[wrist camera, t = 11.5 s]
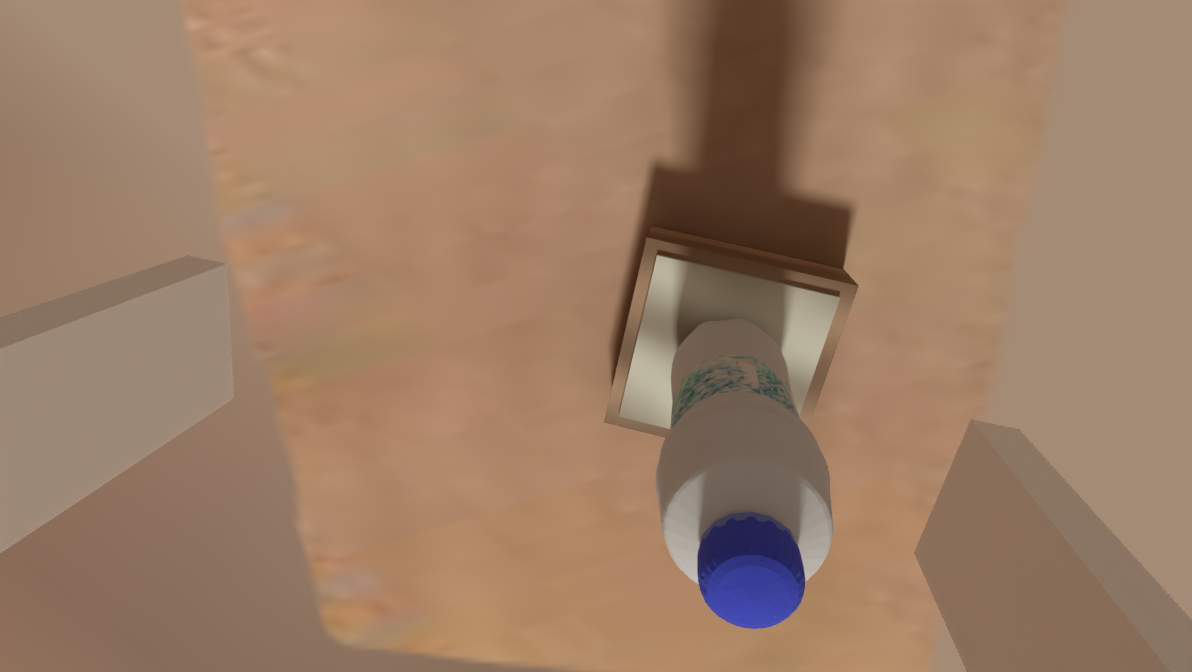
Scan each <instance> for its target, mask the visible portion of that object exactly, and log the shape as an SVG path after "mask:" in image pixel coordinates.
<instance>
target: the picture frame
mask: <svg viewBox="0 0 1192 672" xmlns="http://www.w3.org/2000/svg"><path fill="white" fill-rule="evenodd" d="M857 289H858V285H857V284H856V283H855V281H854V280H853V279H852V278H851V277H850V276H849V275H848V274H847V272H846V271H845V270H844V269H841V268H837V267H832V266H828V265H824V264H819V263H815V262H811V261H806V260H802V259H797V258H793V257H789V256H784V255H780V254H775V253H771V252H767V251H762V250H758V249H753V248H749V247H745V246H740V245H736V244H732V243H727V242H723V241H718V240H714V239H710V238H705V237H701V236H696V235H692V234H688V233H683V232H679V231H675V230H670V229H666V228H661V227H657V226H653V225H651V227H650V230H649V232H648V235H647V238H646V242H645V247H644V251H643V255H642V260H641V264H640V268H639V273H638V277H637V281H636V286H635V290H634V294H633V299H632V303H631V307H630V312H629V316H628V320H627V325H626V329H625V333H624V338H623V342H622V346H621V351H620V355H619V359H618V364H617V368H616V372H615V377H614V381H613V385H612V390H611V394H610V398H609V403H608V407H607V411H606V416H605V420H604V422H605V423H609V424H613V425H617V426H621V427H625V428H629V429H633V430H637V431H641V432H645V433H649V434H653V435H657V436H661V437H665V438H666V437H667V435H668V434H669V432H670V426H671V413H672V403H673V402H672V392H671V369H672V363H673V359H674V355H675V353H676V351H677V349H678V347H679V346H680V345H681V344H682V342H683V341H684V340H685V339H686V338H687V337H688V336H689V335H690V334H691V333H692V332H693V331H694V330H695V329H696V328H697V327H698V325H700V324H702V323H704V322H707V321H722V320H732V319H737V318H740V319H745V320H748V321H750V322H752V323H753V324H755V325H756V326H757V327H759V328H760V329H761V330H763V331H764V332H766V333H767V334H768V335H769V336H770V337H771V338H772V339H773V340H774V341H776V343H777V345H778V346H779V348H780V349H781V351H782V354H783V356H784V359H785V362H786V365H787V369H788V374H789V380H790V387H791V392H792V395H793V398H794V401H795V404H796V407H797V411H798V414H799V417H800V420H801V421H802V422H803V423H804V424H805V425H806V426H807V427H808V426H809V423H810V421H811V418H812V415H813V412H814V409H815V407H816V404H817V401H818V398H819V395H820V393H821V390H822V387H823V384H824V381H825V379H826V376H827V373H828V370H829V367H830V365H831V362H832V359H833V356H834V353H835V350H836V348H837V345H838V342H839V339H840V336H841V334H842V331H843V328H844V325H845V322H846V320H847V317H848V314H849V311H850V308H851V306H852V303H853V300H854V297H855V294H856V291H857Z"/></svg>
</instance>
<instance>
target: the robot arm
mask: <svg viewBox="0 0 1192 672" xmlns="http://www.w3.org/2000/svg"><path fill="white" fill-rule="evenodd" d="M230 333H231V332H230V312H229V293H228V274H227V264H225V263H221V262H216V261H210V260H206V259H202V258H197V257H192V256H186V257H182V258H179V259H176V260H173V261H170V262H167V263H165V264H161V265H158V266H155V267H152V268H149V269H146V270H143V271H140V272H137V273H134V274H131V275H128V276H125V277H122V278H119V279H116V280H113V281H110V282H107V283H103V284H100V285H97V286H94V287H91V288H88V289H85V290H82V291H79V292H76V293H73V294H70V295H67V296H64V297H61V298H58V299H55V300H52V301H49V302H46V303H43V304H40V305H37V306H34V307H31V308H28V309H25V310H22V311H19V312H16V313H13V314H10V315H6V316H3V317H0V553H1V552H3V551H4V550H6V549H7V548H9V547H10V546H12V545H13V544H15V543H16V542H18V541H19V540H21V539H22V538H24V537H25V536H27V535H28V534H30V533H31V532H33V531H34V530H36V529H37V528H39V527H40V526H42V525H43V524H45V523H46V522H48V521H50V520H51V519H53V518H54V517H55V516H57V515H59V514H60V513H61V512H63V511H65V510H66V509H68V508H69V507H70V506H72V505H73V504H75V503H77V502H78V501H80V500H81V499H82V498H84V497H85V496H87V495H88V494H90V493H92V492H93V491H94V490H96V489H98V488H99V487H101V486H102V485H104V484H105V483H107V482H108V481H110V480H111V479H113V478H114V477H116V476H117V475H119V474H120V473H122V472H123V471H125V470H126V469H128V468H129V467H131V466H132V465H134V464H135V463H137V462H138V461H140V460H141V459H143V458H144V457H145V456H147V455H149V454H150V453H152V452H153V451H155V450H156V449H158V448H159V447H161V446H162V445H164V444H166V443H167V442H168V441H170V440H171V439H173V438H174V437H176V436H177V435H179V434H180V433H182V432H183V431H185V430H186V429H188V428H190V427H191V426H192V425H194V424H196V423H197V422H199V421H200V420H201V419H203V418H205V417H206V416H208V415H209V414H210V413H212V412H214V411H215V410H217V409H218V408H219V407H221V406H223V405H224V404H226V403H227V402H229V401H230V400H232V399H233V398H234V391H233V371H232V351H231V334H230ZM914 553H915V556H916V558H917V560H918V562H919V565H920V567H921V569H922V571H923V574H924V576H925V578H926V580H927V583H928V585H929V587H930V589H931V592H932V594H933V596H934V598H935V601H936V603H937V605H938V607H939V610H940V612H941V614H942V617H943V619H944V621H945V623H946V626H947V628H948V630H949V632H950V634H951V637H952V639H953V641H954V644H955V646H956V648H957V650H958V653H959V655H960V657H961V659H962V661H963V664H964V666H965V668H966V671H967V672H1192V620H1191V619H1190V617H1189V616H1188V615H1187V614H1186V613H1185V612H1184V611H1183V610H1182V609H1181V607H1179V605H1178V604H1177V603H1176V602H1175V601H1174V600H1173V599H1172V598H1171V597H1170V595H1169V594H1168V593H1167V592H1166V591H1165V590H1164V589H1163V588H1162V587H1161V585H1160V584H1159V583H1158V582H1157V581H1156V580H1155V579H1154V578H1153V577H1152V576H1151V574H1150V573H1149V572H1148V571H1147V570H1146V569H1145V568H1144V567H1143V566H1142V564H1141V563H1140V562H1139V561H1138V560H1137V559H1136V558H1135V557H1134V556H1133V555H1132V554H1131V552H1130V551H1129V550H1128V549H1127V548H1126V547H1125V546H1124V545H1123V544H1122V543H1121V541H1120V540H1119V539H1118V538H1117V537H1116V536H1115V535H1114V534H1113V532H1112V531H1111V530H1110V529H1109V528H1108V527H1107V526H1106V525H1105V524H1104V523H1103V522H1102V520H1101V519H1100V518H1099V517H1098V516H1097V515H1096V514H1095V513H1094V512H1093V510H1092V509H1091V508H1090V507H1089V506H1088V505H1087V504H1086V503H1085V502H1084V500H1083V499H1082V498H1081V497H1080V496H1079V495H1078V494H1077V493H1076V492H1075V491H1074V489H1073V488H1072V487H1071V486H1070V485H1069V484H1068V483H1067V482H1066V481H1065V479H1064V478H1063V477H1062V476H1061V475H1060V474H1059V473H1058V472H1057V471H1056V470H1055V468H1054V467H1053V466H1052V465H1051V464H1050V463H1049V462H1048V461H1047V460H1046V459H1045V457H1043V455H1042V454H1041V453H1040V452H1039V451H1038V450H1037V449H1036V448H1035V446H1034V445H1033V444H1032V443H1031V442H1030V441H1029V440H1028V439H1027V438H1026V436H1025V435H1024V434H1023V433H1022V432H1021V431H1020V430H1019V429H1015V428H1010V427H1005V426H1000V425H995V424H991V423H986V422H981V421H976V420H972V419H971V421H970V423H969V425H968V428H967V430H966V432H965V435H964V437H963V439H962V442H961V444H960V446H959V449H958V451H957V453H956V456H955V458H954V461H953V463H952V465H951V468H950V470H949V472H948V475H947V477H946V479H945V482H944V484H943V486H942V489H941V491H940V493H939V496H938V498H937V501H936V503H935V505H934V508H933V510H932V512H931V515H930V517H929V519H928V522H927V524H926V526H925V529H924V531H923V533H922V536H921V538H920V541H919V543H918V545H917V548H916V550H915V552H914Z"/></svg>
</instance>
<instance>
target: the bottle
mask: <svg viewBox="0 0 1192 672" xmlns="http://www.w3.org/2000/svg"><path fill="white" fill-rule="evenodd" d="M671 392H672V402H673V403H672V413H671V426H670V432H669V434H668V435H667V437H666V439H665V441H664V444H663V446H662V449H661V454H660V459H659V464H658V467H657V472H656V491H657V497H658V500H659V506H660V514H661V521H662V529H663V534H664V539H665V543H666V545H667V548H668V551H669V553H670V555H671V557H672V558H673V560H674V561H675V563H676V564H677V566H678V567H679V568H680V569H681V570H682V571H683V572H684V573H685V574H686V575H687V576H688V577H689V578H690V579H691V580H693V581H694V582H696V583H697V584H699V586H700V590H701V593H702V595H703V597H704V600H705V602H706V603H707V605H708V606H709V607H710V609H711V610H712V611H713V612H715V613H716V614H717V615H718V616H719V617H721V618H722V619H724V620H725V621H727V622H729V623H731V624H734V625H736V626H740V627H744V628H752V629H758V628H766V627H770V626H773V625H776V624H778V623H780V622H782V621H783V620H785V619H786V618H788V617H789V616H790V615H791V614H792V613H793V612H794V611H795V610H796V609H797V607H798V606H799V604H800V603H801V600H802V597H803V594H804V589H805V582H806V581H807V580H808V579H809V578H810V577H811V576H812V575H813V574H814V573H816V572H817V570H818V569H819V567H820V566H821V564H822V563H823V562H824V560H825V558H826V556H827V554H828V551H829V549H830V546H831V541H832V534H833V521H832V510H831V499H830V476H829V471H828V467H827V464H826V461H825V458H824V456H823V454H822V452H821V450H820V448H819V446H818V444H817V442H816V440H815V437H814V436H813V434H812V433H811V431H810V430H809V428H808V427H807V426H806V425H805V424H804V423H803V422H802V421H801V420H800V417H799V414H798V411H797V407H796V404H795V401H794V398H793V395H792V392H791V387H790V380H789V374H788V369H787V365H786V362H785V359H784V356H783V354H782V351H781V349H780V348H779V346H778V345H777V343H776V341H774V340H773V339H772V338H771V337H770V336H769V335H768V334H767V333H766V332H764V331H763V330H761V329H760V328H759V327H757V326H756V325H755V324H753V323H752V322H750V321H748V320H745V319H740V318H737V319H732V320H722V321H707V322H704V323H702V324H700V325H698V327H697V328H696V329H695V330H694V331H693V332H692V333H691V334H690V335H689V336H688V337H687V338H686V339H685V340H684V341H683V342H682V344H681V345H680V346H679V347H678V349H677V351H676V353H675V355H674V359H673V363H672V369H671Z"/></svg>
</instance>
